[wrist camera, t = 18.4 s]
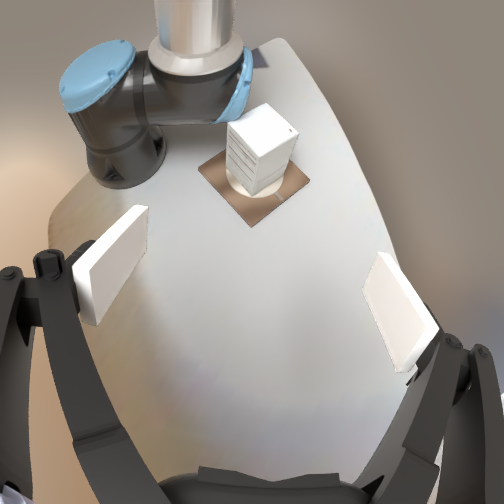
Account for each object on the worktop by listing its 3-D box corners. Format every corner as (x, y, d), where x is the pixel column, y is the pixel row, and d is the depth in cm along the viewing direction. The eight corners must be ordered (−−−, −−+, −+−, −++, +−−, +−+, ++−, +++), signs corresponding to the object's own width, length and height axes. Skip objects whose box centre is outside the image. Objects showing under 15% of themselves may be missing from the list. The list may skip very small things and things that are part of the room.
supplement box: (257, 147, 51) (267, 100, 39) (284, 176, 50) (301, 133, 38) (224, 167, 49) (225, 121, 37) (250, 198, 48) (260, 157, 36)
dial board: (198, 170, 50) (197, 166, 49) (256, 132, 54) (257, 128, 53) (251, 227, 48) (252, 224, 47) (308, 182, 52) (310, 178, 51)
